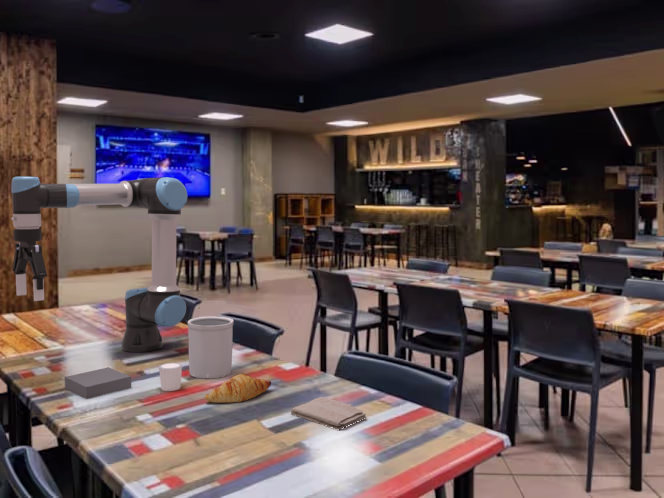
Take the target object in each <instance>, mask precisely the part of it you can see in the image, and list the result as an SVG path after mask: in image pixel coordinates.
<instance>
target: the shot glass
mask: <svg viewBox="0 0 664 498" xmlns="http://www.w3.org/2000/svg"><path fill="white" fill-rule="evenodd" d="M158 370H159V380H160V388H161V391H163V392H164V391H165V392H172V391H174V392H175V391H177V390H180V389H181V388H182V387H181V385H182V371H183V364H182V363H179V362H166V363H162V364H159V366H158Z"/></svg>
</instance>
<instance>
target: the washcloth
mask: <svg viewBox="0 0 664 498" xmlns="http://www.w3.org/2000/svg"><path fill="white" fill-rule="evenodd" d="M363 411H364V410H363V409H360V408H357V407H355V406H353V405H352V404H351V403H345V402H341V401H339V400H335V399H331V398H327V397H324V396H320V397H317V398H314V399H312V400H311V401H308V402H306V403H302V404H300V405H298V406H295V407H293V408H291V410H290V414H291V415H292V414H293V415H292V416H295V415H296V416H295V417H298V416H299V417H298V418H300V417H302V418H301V419H303V418H305V420H306V419H308V420H307V421H310V420H311V421H310V422H312V421H314V422H313V423H316V422H318V423H317V424H319V423H320V424H319V425H321V424H324V425H323V426H325V425H327V426H326V427H328V426H329V427H328V428H330V427H333V428H336V429H340V430H342V429H341V428H343V427H346V426H348V425H350V424H353V423H355V422H357V421H360V420H362V419H364V418H366V419H367V416H366V413H364V412H363ZM364 420H365V419H364ZM360 422H361V421H360ZM353 425H354V424H353ZM333 428H332V429H333ZM336 429H335V430H336Z"/></svg>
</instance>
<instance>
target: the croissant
mask: <svg viewBox="0 0 664 498" xmlns="http://www.w3.org/2000/svg"><path fill="white" fill-rule="evenodd" d="M271 385H272V382H271V380H268V379H266V380H265V379H263V378H256V377H252V376H250V375H249V374H244V373H240V374H236V375H233V376H232V377H231V378H230V379H229V380H227V381H224V382H222V383H221V385H219V386H218V387H216V388H213V389H212V390H211V391H210V392H209V393H207V394H205V395H204V401H206V402H208V403H215V404H216V403H219V404H220V403H221V404H222V403H225V404H226V403H228V404H229V403H230V404H231V403H241V402H245V401H249V400H251V398H252V399H254V398H255V397H256V396H259V395H261V394H263V393H265V392H266V391H267V390H269V388H270V387H271ZM248 399H249V400H248Z"/></svg>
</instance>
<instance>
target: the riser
mask: <svg viewBox="0 0 664 498" xmlns="http://www.w3.org/2000/svg"><path fill="white" fill-rule="evenodd" d="M64 389H65V390H68V391H70V392H71V393H73V394H76V395H77V396H80V397H81V398H84V399H86V400H90V399H92V398H97V397H101V396H105V395H108V394H111V393H116V392H121V391H124V390H128V389H132V376H131V375H129V374H126V373H124V372H121V371H118V370H116V369H114V368H111V367H109V366H108V367H103V368H99V369H94V370H90V371H84V372H80V373H76V374H70V375H67V376H64Z"/></svg>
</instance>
